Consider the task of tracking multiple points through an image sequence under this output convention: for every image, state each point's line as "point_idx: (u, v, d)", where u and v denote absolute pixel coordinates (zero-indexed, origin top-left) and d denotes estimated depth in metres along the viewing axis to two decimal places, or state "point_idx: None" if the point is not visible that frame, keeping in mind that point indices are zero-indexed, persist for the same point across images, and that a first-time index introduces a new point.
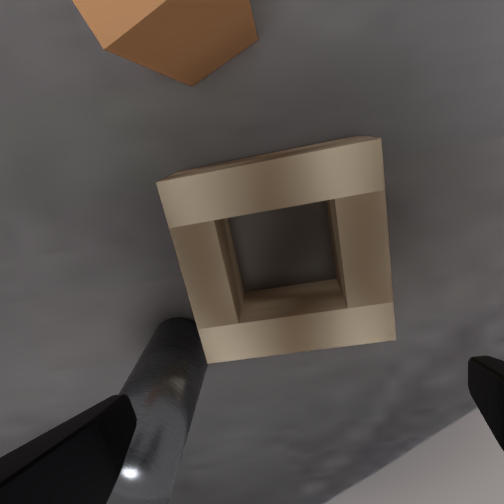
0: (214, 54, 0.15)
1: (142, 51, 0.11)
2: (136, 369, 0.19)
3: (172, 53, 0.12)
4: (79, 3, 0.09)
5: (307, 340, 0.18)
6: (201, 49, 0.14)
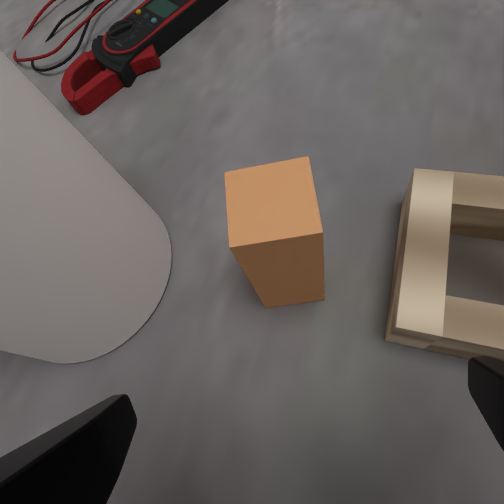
0: None
1: None
2: None
3: None
4: (296, 234, 0.15)
5: None
6: None
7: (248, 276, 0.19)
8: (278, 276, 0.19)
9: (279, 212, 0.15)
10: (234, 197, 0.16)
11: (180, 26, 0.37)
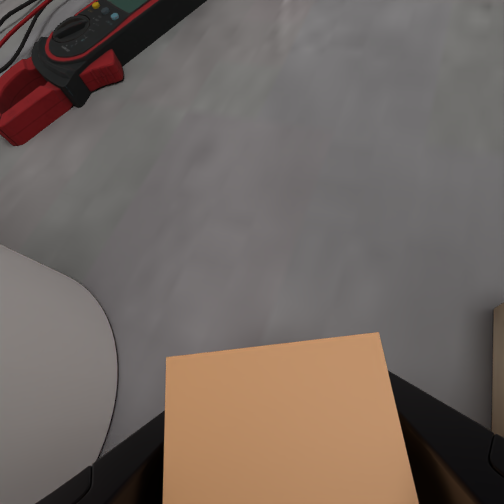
0: None
1: None
2: None
3: None
4: None
5: None
6: None
7: None
8: None
9: None
10: (184, 445, 0.06)
11: (151, 25, 0.27)
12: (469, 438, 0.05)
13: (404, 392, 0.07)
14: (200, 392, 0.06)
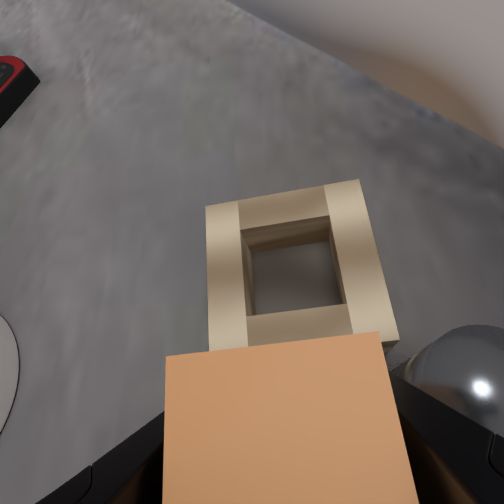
0: None
1: None
2: None
3: None
4: None
5: (363, 243, 0.20)
6: None
7: None
8: None
9: None
10: (184, 444, 0.06)
11: None
12: (469, 438, 0.05)
13: (404, 392, 0.07)
14: (200, 391, 0.06)
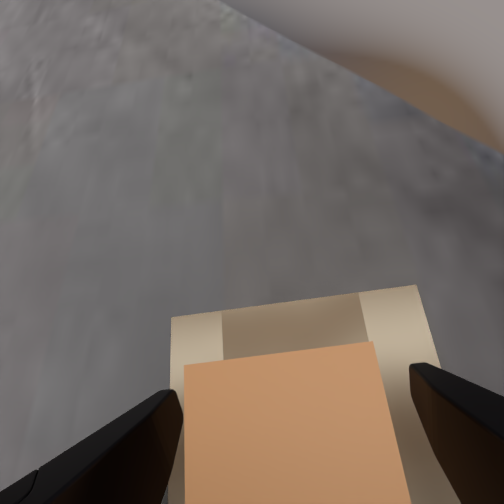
0: None
1: None
2: None
3: None
4: None
5: None
6: None
7: None
8: None
9: None
10: (202, 444, 0.07)
11: None
12: None
13: (459, 387, 0.07)
14: (215, 396, 0.07)
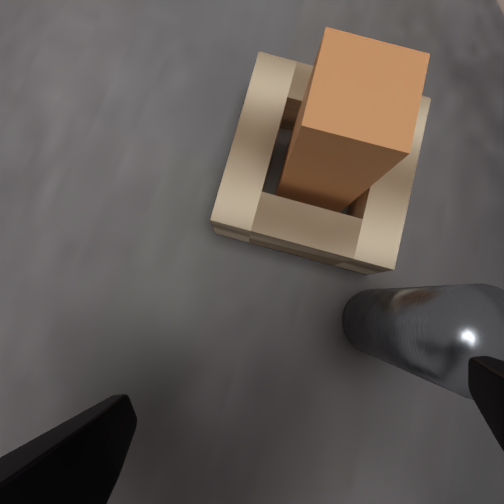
0: None
1: None
2: (371, 335, 0.17)
3: None
4: (380, 142, 0.13)
5: (403, 168, 0.19)
6: None
7: (289, 164, 0.16)
8: (317, 177, 0.17)
9: (371, 108, 0.13)
10: (326, 66, 0.13)
11: None
12: None
13: None
14: (339, 48, 0.13)
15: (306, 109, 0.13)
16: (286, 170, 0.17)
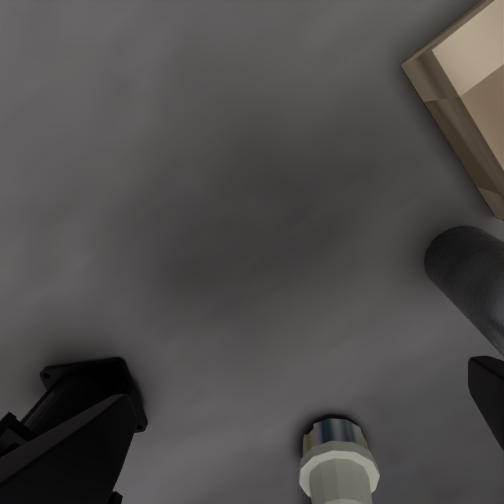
0: None
1: None
2: (471, 277, 0.17)
3: None
4: None
5: None
6: None
7: None
8: None
9: None
10: None
11: None
12: None
13: None
14: None
15: None
16: None
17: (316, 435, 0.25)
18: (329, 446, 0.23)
